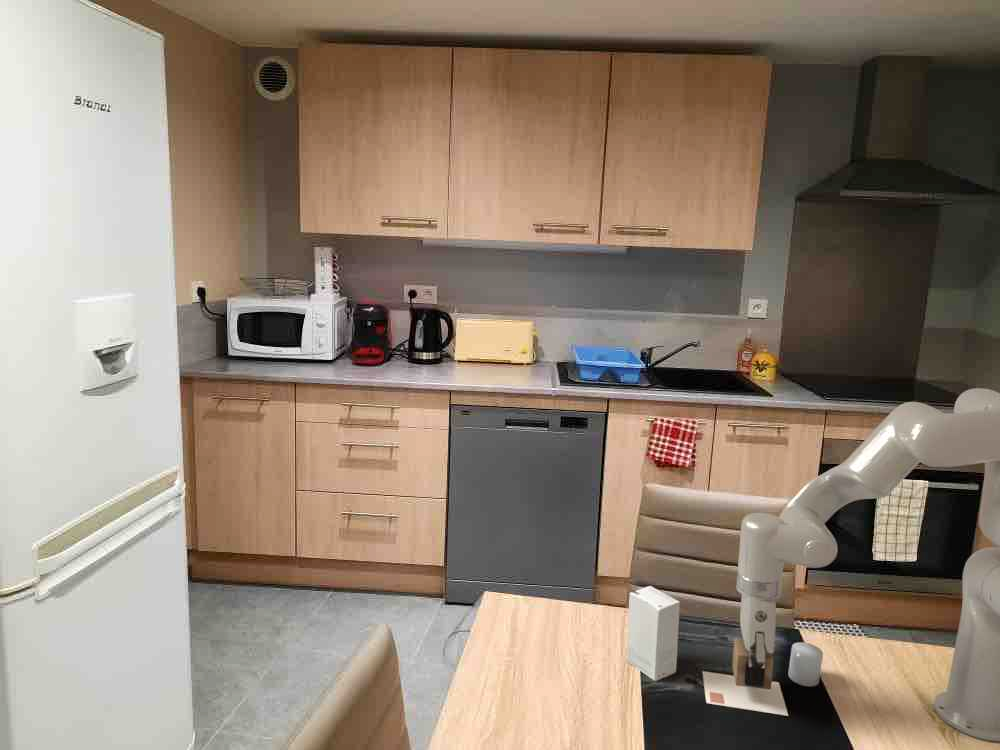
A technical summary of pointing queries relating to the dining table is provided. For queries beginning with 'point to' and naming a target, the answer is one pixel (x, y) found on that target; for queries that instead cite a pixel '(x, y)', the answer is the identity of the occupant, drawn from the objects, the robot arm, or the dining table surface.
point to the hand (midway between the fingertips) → (751, 673)
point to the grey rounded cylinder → (805, 664)
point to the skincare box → (653, 632)
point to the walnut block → (740, 663)
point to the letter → (742, 694)
